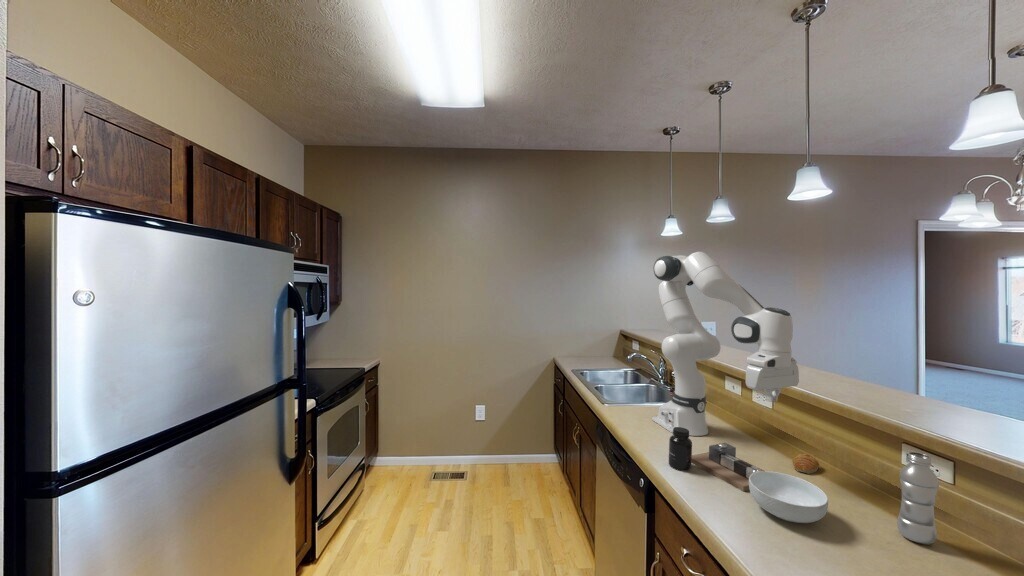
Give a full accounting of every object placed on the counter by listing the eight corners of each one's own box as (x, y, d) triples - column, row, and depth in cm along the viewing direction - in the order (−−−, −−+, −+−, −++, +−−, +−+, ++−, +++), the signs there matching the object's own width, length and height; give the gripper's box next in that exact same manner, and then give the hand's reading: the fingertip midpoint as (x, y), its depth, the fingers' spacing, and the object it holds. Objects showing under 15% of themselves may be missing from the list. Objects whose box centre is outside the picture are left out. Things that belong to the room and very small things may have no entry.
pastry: (815, 478, 120) (815, 466, 120) (789, 470, 125) (789, 458, 124) (820, 468, 126) (820, 456, 126) (794, 461, 131) (794, 450, 131)
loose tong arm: (723, 463, 124) (724, 453, 124) (726, 463, 124) (726, 453, 124) (758, 481, 113) (758, 470, 113) (761, 480, 114) (761, 469, 114)
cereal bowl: (735, 494, 109) (736, 469, 109) (795, 496, 109) (796, 471, 109) (774, 533, 92) (775, 504, 92) (845, 536, 92) (846, 506, 92)
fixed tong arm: (720, 464, 123) (720, 454, 123) (722, 464, 124) (723, 454, 124) (754, 482, 113) (755, 471, 113) (757, 481, 113) (757, 470, 113)
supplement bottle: (665, 466, 125) (666, 429, 125) (672, 459, 130) (674, 423, 130) (687, 473, 120) (688, 435, 120) (694, 466, 125) (695, 429, 125)
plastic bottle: (888, 531, 94) (891, 449, 94) (913, 530, 95) (916, 449, 94) (918, 549, 88) (922, 461, 87) (945, 548, 88) (949, 461, 88)
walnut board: (687, 460, 129) (687, 456, 129) (720, 454, 135) (720, 449, 135) (743, 491, 111) (743, 486, 111) (778, 482, 116) (778, 477, 116)
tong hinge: (708, 459, 127) (709, 443, 127) (724, 456, 130) (725, 440, 130) (719, 464, 124) (719, 448, 123) (735, 461, 126) (735, 445, 126)
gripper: (786, 355, 131) (783, 395, 132) (742, 358, 124) (740, 400, 124) (806, 359, 125) (803, 401, 126) (761, 362, 118) (759, 407, 118)
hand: (771, 401), depth 125 cm, fingers closed
